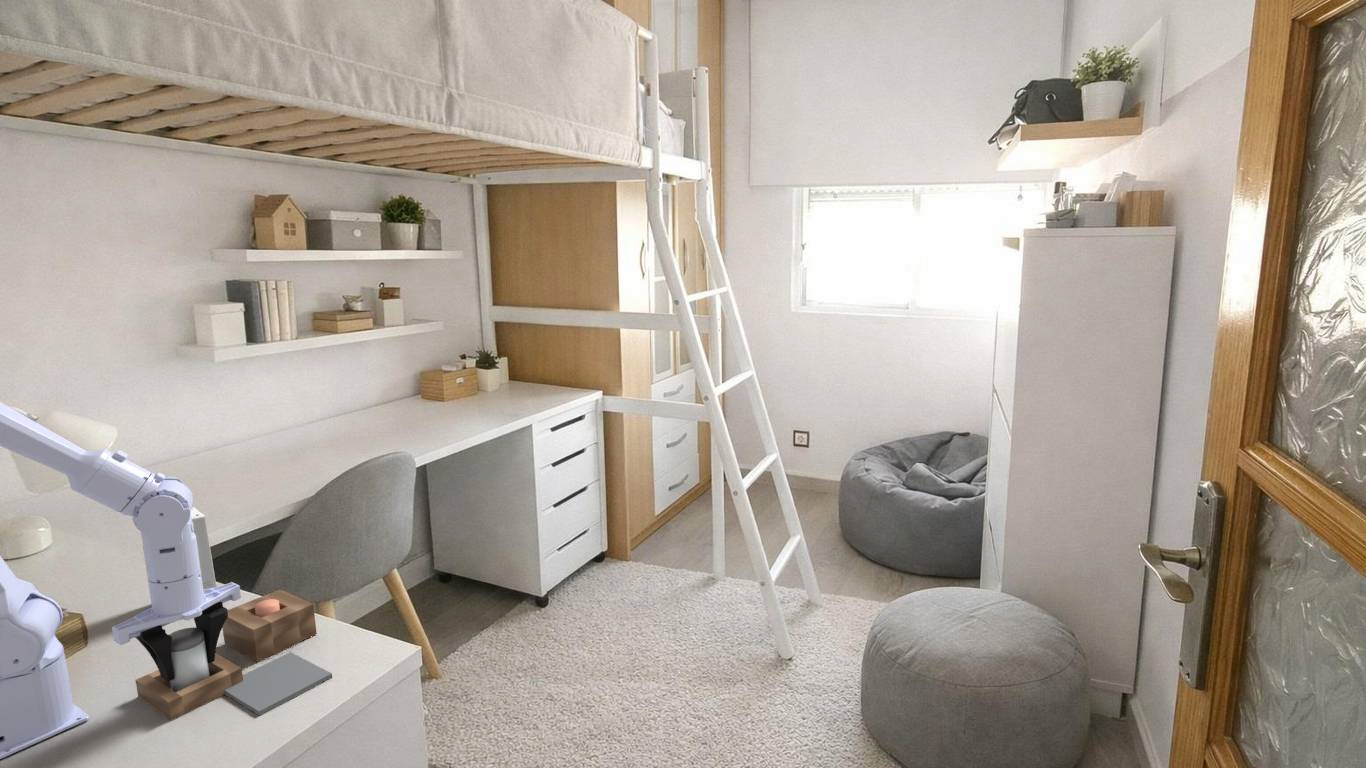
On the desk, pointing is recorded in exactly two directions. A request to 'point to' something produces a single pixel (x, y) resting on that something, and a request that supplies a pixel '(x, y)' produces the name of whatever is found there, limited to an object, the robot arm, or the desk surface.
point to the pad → (276, 683)
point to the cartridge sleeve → (188, 689)
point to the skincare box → (202, 549)
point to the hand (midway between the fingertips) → (188, 668)
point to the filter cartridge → (188, 658)
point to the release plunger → (266, 607)
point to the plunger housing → (269, 626)
